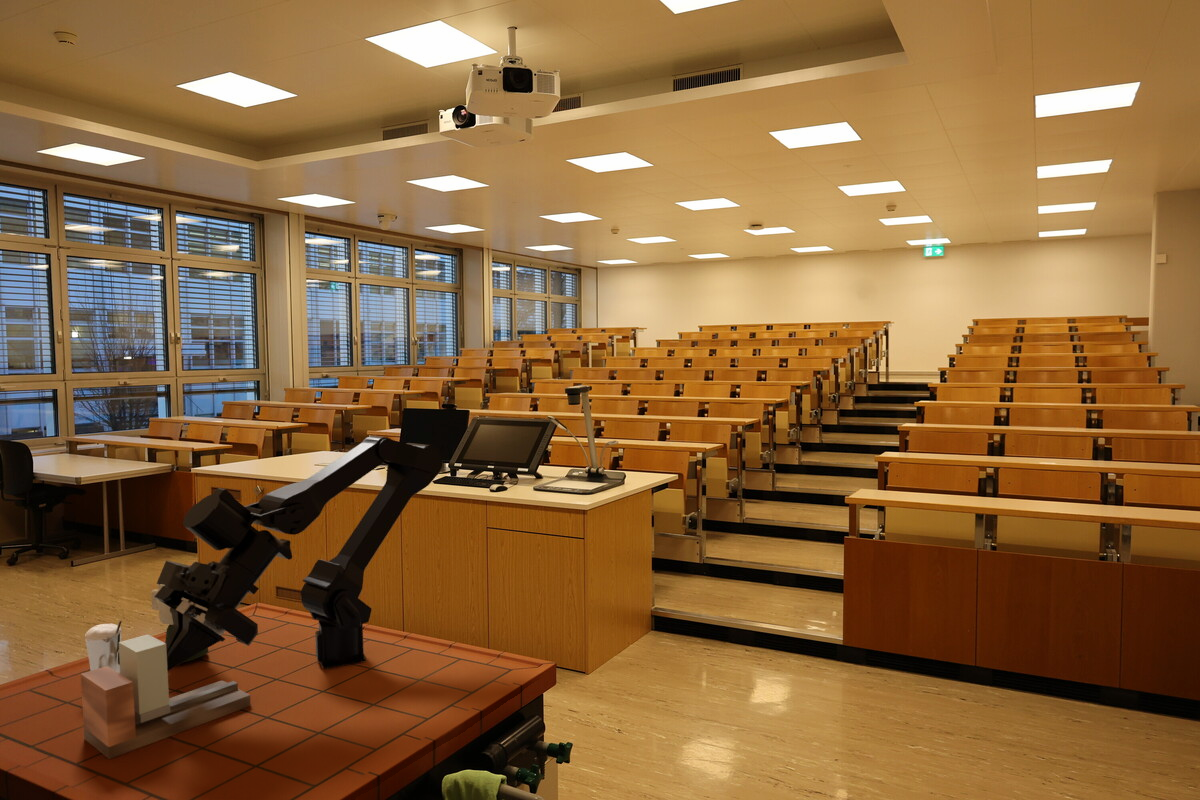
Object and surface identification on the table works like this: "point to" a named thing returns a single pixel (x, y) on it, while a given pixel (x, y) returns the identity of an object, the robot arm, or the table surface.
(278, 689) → the table surface
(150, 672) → the block
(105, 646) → the milkshake
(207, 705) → the track
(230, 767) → the table surface
